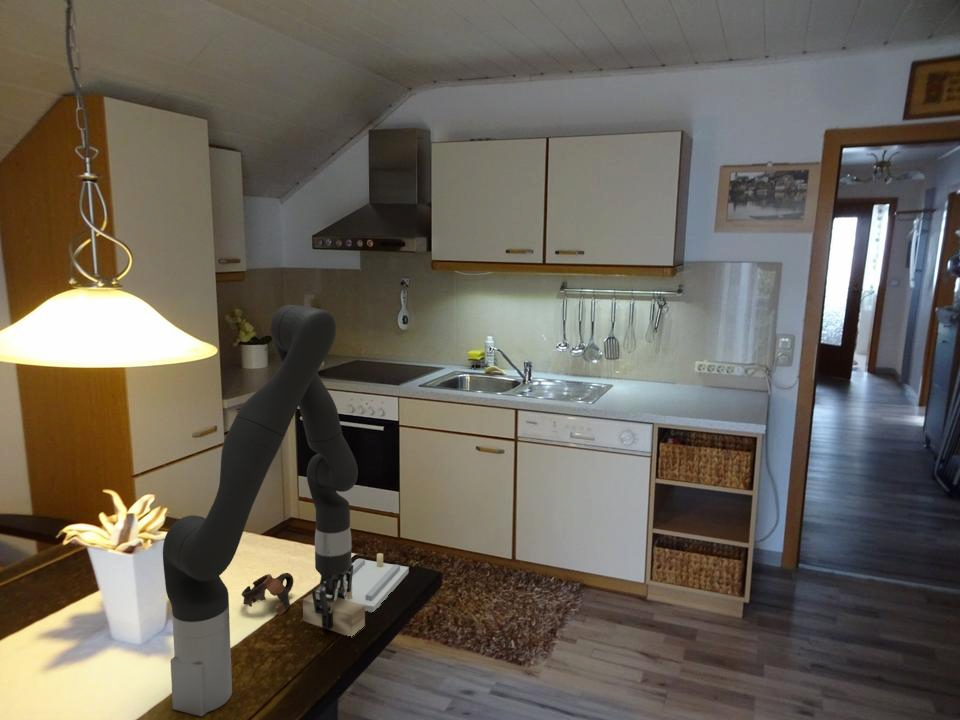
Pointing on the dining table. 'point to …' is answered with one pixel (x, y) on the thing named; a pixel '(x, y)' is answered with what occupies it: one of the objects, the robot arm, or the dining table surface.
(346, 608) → the beige wooden block
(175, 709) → the robot arm
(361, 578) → the key cradle
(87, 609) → the dining table surface
